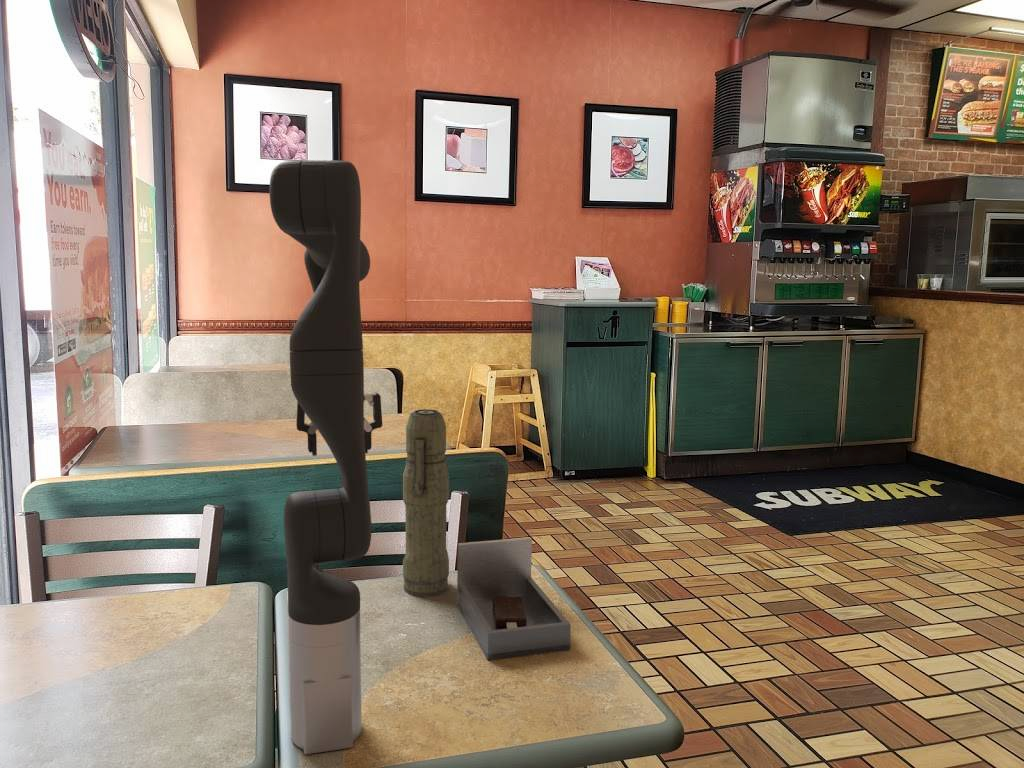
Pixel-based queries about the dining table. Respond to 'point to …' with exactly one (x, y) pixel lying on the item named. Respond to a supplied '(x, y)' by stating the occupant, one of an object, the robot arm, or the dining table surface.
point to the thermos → (425, 504)
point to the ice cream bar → (509, 612)
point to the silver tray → (509, 574)
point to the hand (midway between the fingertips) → (340, 453)
